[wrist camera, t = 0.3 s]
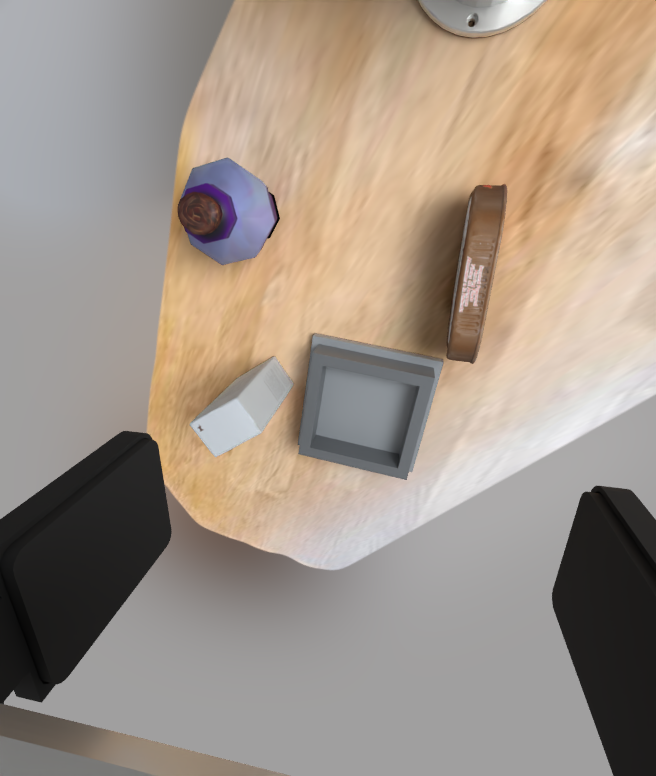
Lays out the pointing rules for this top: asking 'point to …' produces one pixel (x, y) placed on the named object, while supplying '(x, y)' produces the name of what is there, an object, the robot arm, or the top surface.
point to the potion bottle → (227, 211)
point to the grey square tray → (366, 405)
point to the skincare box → (243, 407)
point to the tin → (475, 271)
